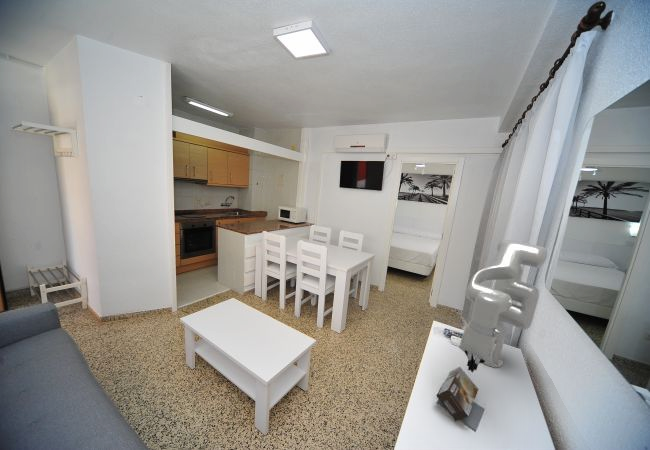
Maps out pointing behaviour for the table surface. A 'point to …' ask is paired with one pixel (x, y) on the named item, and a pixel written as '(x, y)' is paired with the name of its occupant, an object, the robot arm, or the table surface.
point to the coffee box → (458, 394)
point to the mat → (471, 415)
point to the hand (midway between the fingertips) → (471, 369)
